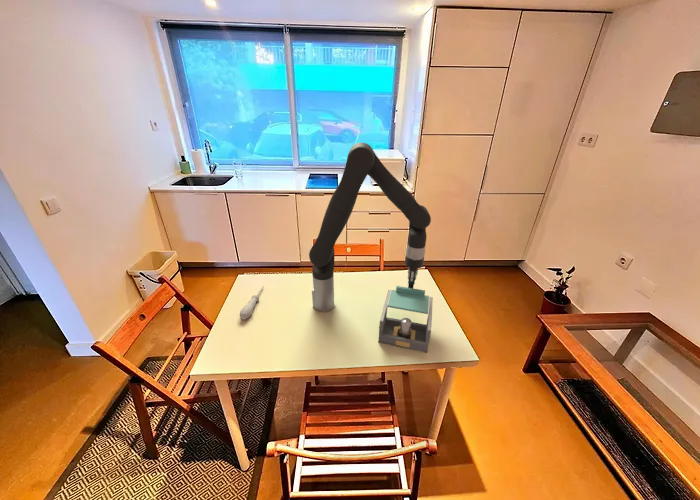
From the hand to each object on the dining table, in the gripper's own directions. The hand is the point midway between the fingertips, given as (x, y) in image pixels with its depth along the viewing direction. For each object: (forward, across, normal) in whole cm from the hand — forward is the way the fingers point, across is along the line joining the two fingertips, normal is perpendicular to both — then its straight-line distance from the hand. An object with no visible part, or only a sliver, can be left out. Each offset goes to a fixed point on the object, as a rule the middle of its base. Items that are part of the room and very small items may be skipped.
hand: (410, 288), depth 126 cm
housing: (+12, +12, 0) cm, 18 cm away
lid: (+1, +8, 0) cm, 8 cm away
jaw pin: (+11, +18, 0) cm, 21 cm away
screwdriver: (+13, +14, -70) cm, 73 cm away
